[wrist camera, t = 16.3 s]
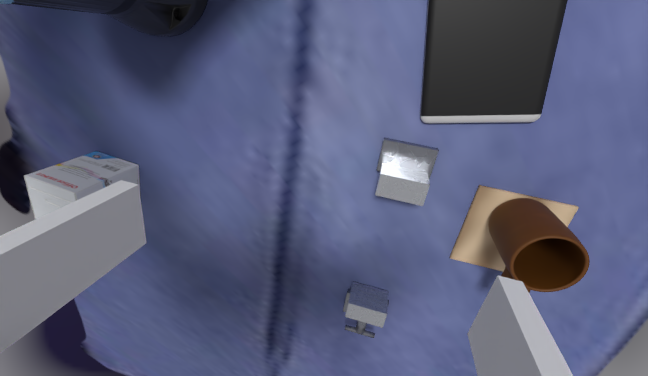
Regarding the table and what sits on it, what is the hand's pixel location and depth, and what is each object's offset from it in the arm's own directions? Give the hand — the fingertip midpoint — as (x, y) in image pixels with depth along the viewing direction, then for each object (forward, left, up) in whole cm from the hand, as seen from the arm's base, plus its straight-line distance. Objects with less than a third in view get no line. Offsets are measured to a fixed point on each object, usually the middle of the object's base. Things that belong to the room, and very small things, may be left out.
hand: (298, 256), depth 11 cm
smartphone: (+10, +14, -32) cm, 37 cm away
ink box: (-41, -20, -32) cm, 56 cm away
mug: (+22, -13, -31) cm, 41 cm away
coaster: (+22, -13, -32) cm, 41 cm away
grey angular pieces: (+6, -19, -32) cm, 37 cm away
